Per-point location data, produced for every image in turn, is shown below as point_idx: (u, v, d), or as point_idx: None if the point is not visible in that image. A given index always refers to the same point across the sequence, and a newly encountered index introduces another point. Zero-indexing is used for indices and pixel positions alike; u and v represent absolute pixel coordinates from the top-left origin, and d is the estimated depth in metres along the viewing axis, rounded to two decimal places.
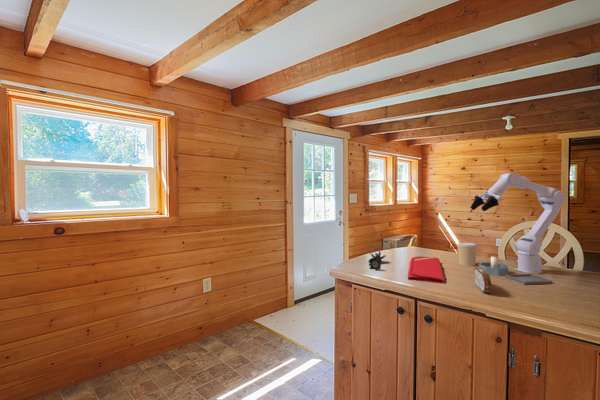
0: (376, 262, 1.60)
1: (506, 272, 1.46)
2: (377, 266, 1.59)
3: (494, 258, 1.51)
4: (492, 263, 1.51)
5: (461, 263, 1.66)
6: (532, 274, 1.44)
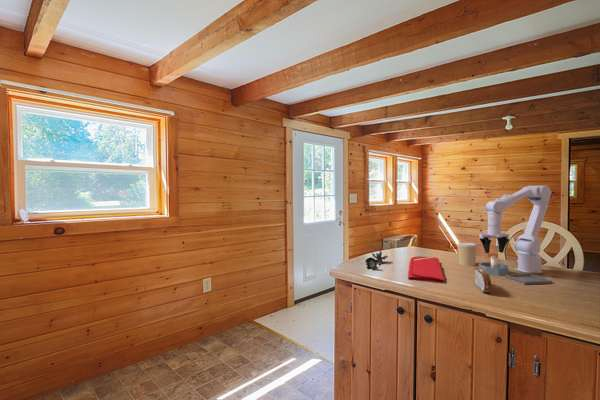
0: (373, 262, 1.60)
1: (506, 272, 1.46)
2: (374, 266, 1.60)
3: (494, 258, 1.51)
4: (492, 263, 1.51)
5: (461, 263, 1.66)
6: (532, 274, 1.44)
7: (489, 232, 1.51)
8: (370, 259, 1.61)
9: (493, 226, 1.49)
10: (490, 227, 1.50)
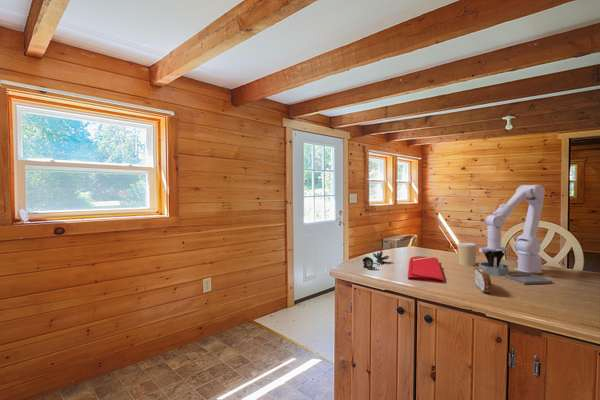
0: (369, 262, 1.61)
1: (506, 272, 1.46)
2: (370, 265, 1.61)
3: (494, 258, 1.51)
4: None
5: (461, 263, 1.66)
6: (532, 274, 1.44)
7: (489, 246, 1.51)
8: (367, 258, 1.62)
9: (493, 240, 1.49)
10: (490, 241, 1.51)
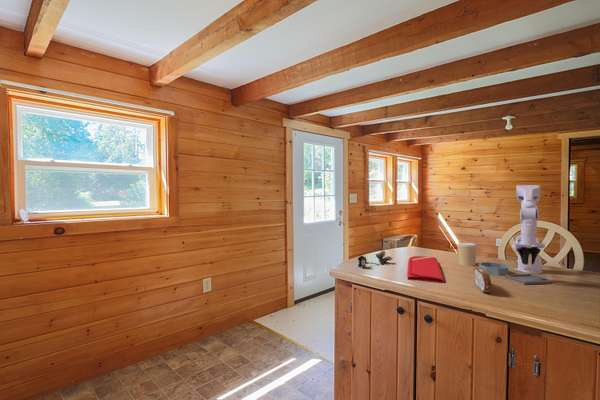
0: (364, 261, 1.64)
1: (506, 272, 1.46)
2: (364, 264, 1.63)
3: (529, 255, 1.37)
4: None
5: (461, 263, 1.66)
6: (532, 274, 1.44)
7: (523, 242, 1.38)
8: (362, 257, 1.65)
9: (528, 235, 1.36)
10: (524, 236, 1.37)
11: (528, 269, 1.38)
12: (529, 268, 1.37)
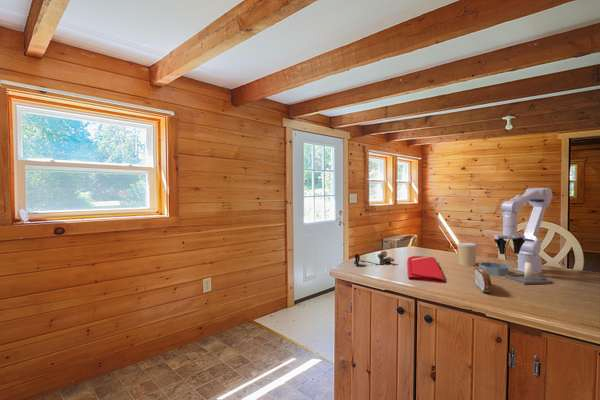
0: (358, 259, 1.68)
1: (506, 272, 1.46)
2: (358, 262, 1.67)
3: (529, 264, 1.37)
4: (526, 270, 1.38)
5: (461, 263, 1.66)
6: (532, 274, 1.44)
7: (504, 233, 1.47)
8: (358, 256, 1.70)
9: (509, 227, 1.46)
10: (506, 228, 1.47)
11: (528, 278, 1.38)
12: (529, 277, 1.38)
